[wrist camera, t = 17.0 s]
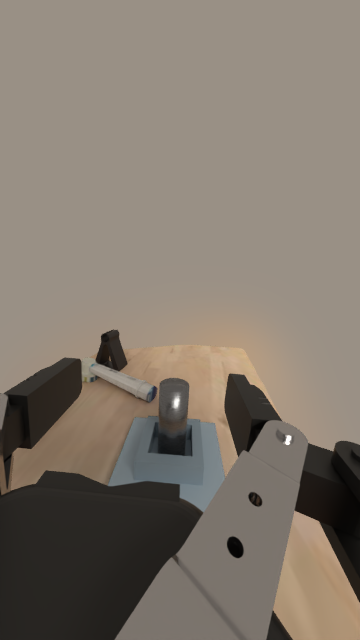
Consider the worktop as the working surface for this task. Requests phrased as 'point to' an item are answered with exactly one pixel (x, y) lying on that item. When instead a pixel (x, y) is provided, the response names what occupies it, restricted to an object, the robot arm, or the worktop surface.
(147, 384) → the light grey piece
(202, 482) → the block
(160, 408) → the steel axle
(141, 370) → the worktop surface
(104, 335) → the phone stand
